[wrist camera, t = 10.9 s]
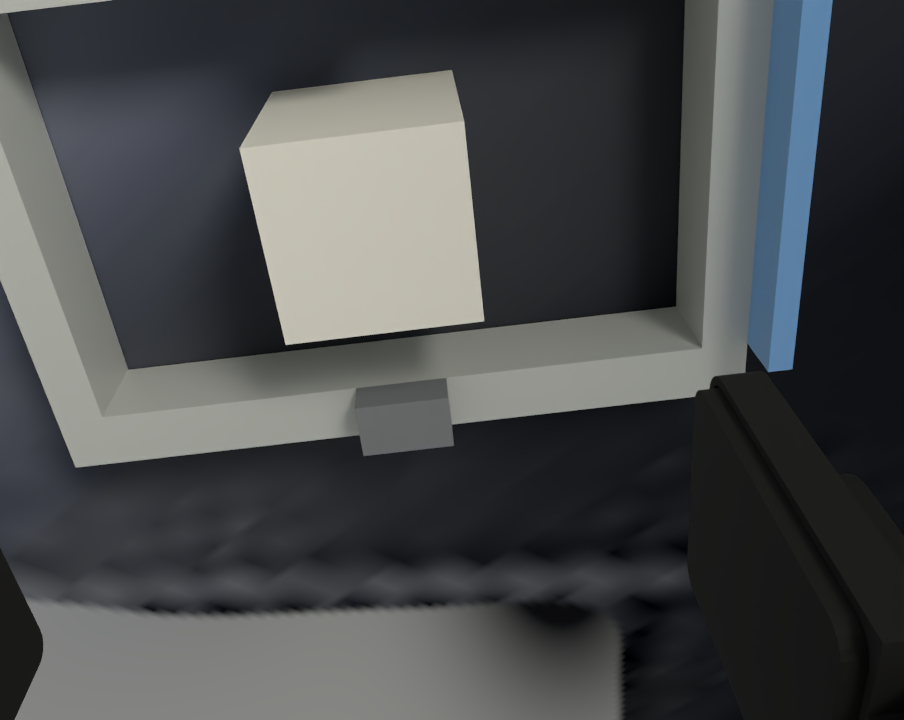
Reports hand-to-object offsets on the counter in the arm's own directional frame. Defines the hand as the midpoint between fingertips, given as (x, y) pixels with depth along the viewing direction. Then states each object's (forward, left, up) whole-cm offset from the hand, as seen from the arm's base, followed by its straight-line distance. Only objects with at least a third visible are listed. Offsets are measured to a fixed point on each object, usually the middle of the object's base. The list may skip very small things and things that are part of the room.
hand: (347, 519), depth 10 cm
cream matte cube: (0, 0, -14) cm, 14 cm away
